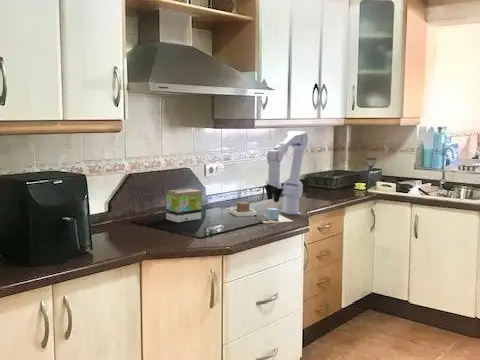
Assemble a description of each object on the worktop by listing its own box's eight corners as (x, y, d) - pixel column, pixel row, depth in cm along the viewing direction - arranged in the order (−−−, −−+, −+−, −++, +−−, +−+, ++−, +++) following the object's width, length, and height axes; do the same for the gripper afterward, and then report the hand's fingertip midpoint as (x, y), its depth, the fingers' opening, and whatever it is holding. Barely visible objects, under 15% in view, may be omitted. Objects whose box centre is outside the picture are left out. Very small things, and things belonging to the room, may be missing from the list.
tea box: (178, 223, 273) (179, 192, 271) (165, 219, 280) (166, 190, 278) (201, 219, 284) (202, 190, 282) (188, 215, 291) (189, 187, 289)
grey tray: (229, 213, 300) (229, 208, 300) (248, 212, 304) (248, 207, 304) (237, 217, 290) (237, 212, 290) (256, 216, 294) (256, 211, 294)
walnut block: (236, 213, 298) (236, 202, 298) (245, 212, 300) (245, 201, 300) (240, 215, 294) (240, 203, 293) (249, 214, 296) (249, 203, 295)
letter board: (251, 217, 292) (251, 216, 291) (279, 215, 297) (279, 214, 297) (264, 223, 277) (264, 222, 277) (293, 222, 283) (293, 221, 283)
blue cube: (265, 217, 288) (265, 208, 288) (274, 217, 290) (274, 207, 290) (269, 220, 284) (270, 210, 283) (278, 219, 286) (279, 209, 285)
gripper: (260, 172, 289) (260, 198, 291) (273, 175, 276) (272, 203, 278) (273, 171, 292) (272, 197, 294) (286, 175, 278) (284, 202, 280)
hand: (273, 200), depth 286 cm, fingers open, 7 cm apart
